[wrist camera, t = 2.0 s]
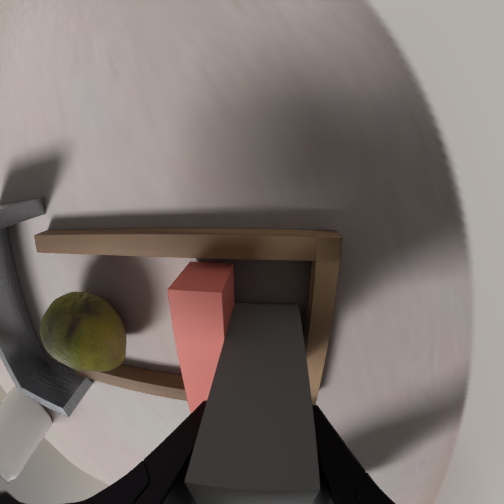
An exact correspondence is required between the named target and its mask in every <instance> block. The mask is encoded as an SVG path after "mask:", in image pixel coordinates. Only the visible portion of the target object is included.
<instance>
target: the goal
mask: <svg viewBox="0 0 504 504" xmlns="http://www.w3.org/2000/svg"><path fill="white" fill-rule="evenodd" d="M43 214H45V210H44V200H43V198H37V199H31V200H25V201H19V202H14V203H9V204H3V205H0V357H1V359H2V361H3V363H4V365H5V367H6V369H7V371H8V372H9V374H10V376H11V378H12V380H13V381H14V383H15V385H16V387H17V388H18V390H19V392H20V393H22V394H24V395H25V396H27V397H29V398H31V399H33V400H34V401H36V402H38V403H40V404H42V405H44V406H46V407H48V408H50V409H52V410H54V411H56V412H58V413H60V414H62V415H64V416H66V417H68V418H69V416H70V415H71V413H72V412H73V410H74V409H75V408H76V406H77V405H78V403H79V402H80V401H81V399H82V398H83V396H84V395H85V394H86V392H87V391H88V389H89V388H90V387H91V385H92V384H93V383H92V381H91V379H90V378H87V377H83V376H80V375H77V374H76V372H75V370H73V369H70V368H67V367H64V366H62V365H59V364H56V363H53V362H51V361H48V360H47V359H46V357H45V355H44V353H43V350H42V348H41V346H40V343H39V341H38V339H37V336H36V333H35V331H34V328H33V326H32V323H31V320H30V317H29V314H28V311H27V308H26V305H25V302H24V299H23V296H22V292H21V289H20V285H19V282H18V278H17V274H16V270H15V266H14V261H13V257H12V252H11V247H10V241H9V235H8V229H7V227H8V226H11V225H14V224H17V223H19V222H22V221H25V220H28V219H31V218H34V217H37V216H40V215H43Z"/></svg>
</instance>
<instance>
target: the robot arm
mask: <svg viewBox="0 0 504 504" xmlns="http://www.w3.org/2000/svg"><path fill="white" fill-rule="evenodd" d="M206 403H207V400H204V401H203V402H202V403H201V404H200V405H199V406H198V407H197V408H196V409H195V410H194V411H193V412H192V413H191V414H190V415H189V416H188V417H187V418H186V419H185V420H184V421H183V422H182V423H181V424H180V425H179V426H178V427H177V428H176V429H175V430H174V431H173V432H172V433H171V434H170V435H169V436H168V437H167V438H166V439H165V440H164V441H163V442H162V443H161V444H160V445H159V446H158V447H157V448H156V449H155V450H154V451H152V452H151V453H150V454H149V455H148V456H147V457H146V458H145V459H144V461H142V462H140V463H139V464H138V465H137V466H136V467H135V468H134V469H133V470H131V471H130V472H129V473H128V474H126V475H125V476H124V477H122V478H121V479H119V480H118V481H117V482H115V483H113V484H112V485H110V486H109V487H107V488H106V489H104V490H102V491H101V492H99V493H98V494H96V495H94V496H93V497H90V498H88V499H86V500H84V501H81V502H76V503H66V504H197V503H196V501H195V500H194V498H193V496H192V495H191V493H190V491H189V489H188V487H187V486H186V484H185V478H186V474H187V471H188V467H189V464H190V460H191V456H192V453H193V449H194V446H195V442H196V439H197V435H198V431H199V428H200V424H201V421H202V417H203V414H204V410H205V406H206ZM312 407H313V416H314V425H315V435H316V445H317V456H318V468H319V480H320V491H319V493H318V494H317V496H316V497H315V499H314V501H313V502H312V504H395V503H394V502H393V501H392V500H391V499H390V498H389V497H388V496H387V495H386V494H385V493H384V492H383V491H382V490H381V489H380V488H379V487H378V486H377V485H376V483H375V482H374V481H373V480H372V478H371V477H370V476H369V474H368V473H366V471H365V469H364V468H363V467H362V465H361V464H360V463H359V461H358V460H357V459H356V457H355V456H354V455H353V453H352V452H351V451H350V449H349V448H348V447H347V445H346V444H345V443H344V441H343V440H342V439H341V437H340V436H339V434H338V433H337V432H336V430H335V429H334V428H333V426H332V425H331V423H330V422H329V421H328V419H327V418H326V416H325V415H324V414H323V412H322V411H321V409H320V408H319V407H318V406H317V405H312ZM0 504H24V503H22V502H21V501H19V500H18V499H17V498H16V497H14V496H13V495H12V494H10V493H9V492H7V491H6V490H3V491H0Z"/></svg>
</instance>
